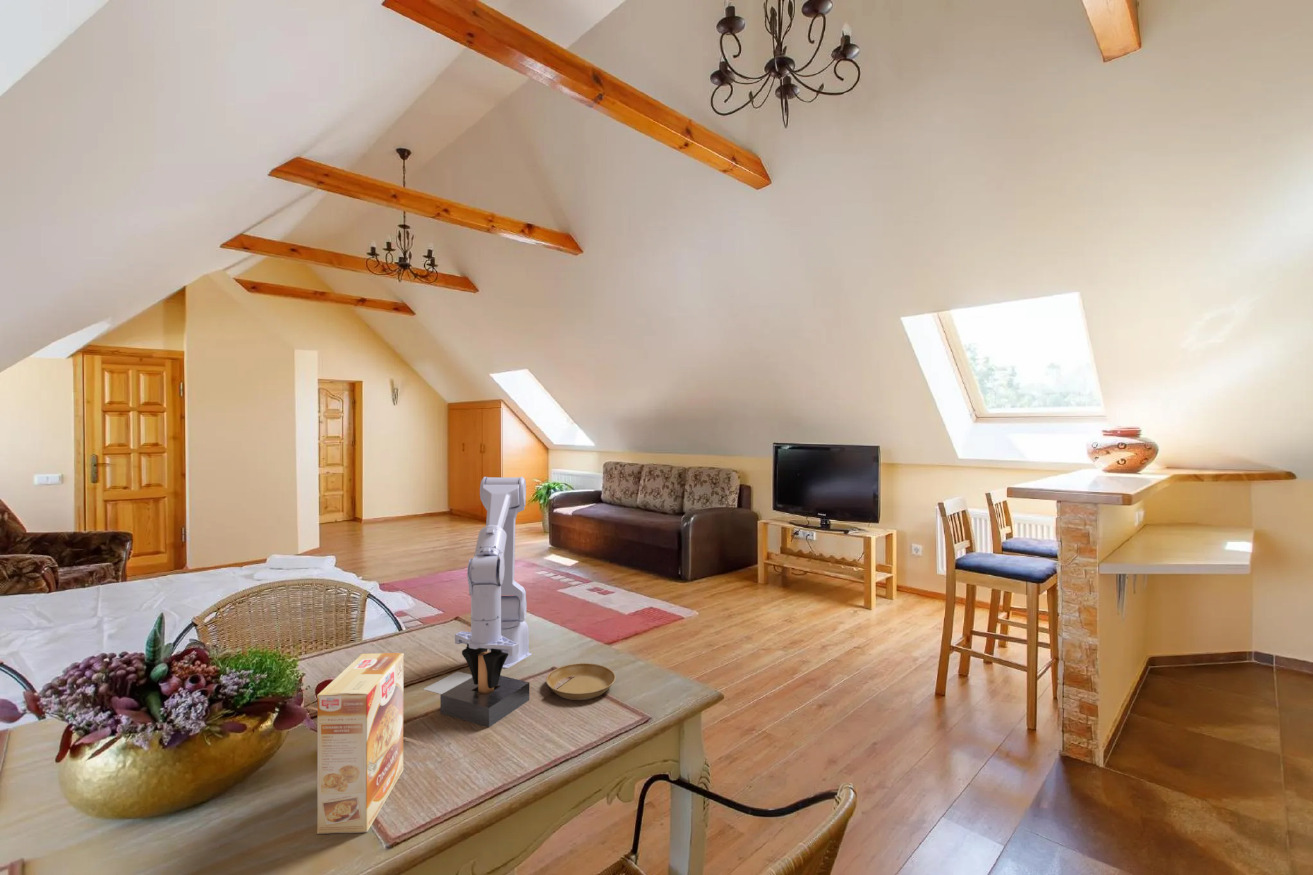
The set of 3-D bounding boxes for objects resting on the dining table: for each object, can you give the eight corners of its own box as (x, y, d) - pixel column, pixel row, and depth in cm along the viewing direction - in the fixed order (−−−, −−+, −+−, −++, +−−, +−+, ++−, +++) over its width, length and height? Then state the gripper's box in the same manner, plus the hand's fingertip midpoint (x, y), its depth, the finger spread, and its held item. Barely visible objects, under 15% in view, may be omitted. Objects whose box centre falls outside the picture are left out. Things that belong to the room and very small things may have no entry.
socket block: (483, 689, 125) (483, 671, 125) (529, 701, 120) (529, 682, 120) (440, 715, 114) (440, 694, 114) (489, 729, 109) (489, 707, 109)
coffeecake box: (368, 833, 81) (367, 693, 81) (314, 835, 81) (313, 695, 80) (405, 769, 96) (405, 651, 96) (360, 771, 96) (360, 652, 95)
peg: (484, 694, 119) (484, 650, 119) (496, 697, 118) (497, 652, 117) (474, 701, 116) (474, 656, 116) (487, 704, 115) (487, 658, 115)
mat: (457, 672, 133) (457, 671, 133) (492, 681, 129) (492, 679, 129) (423, 690, 124) (423, 689, 124) (459, 700, 120) (459, 698, 120)
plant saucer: (627, 682, 130) (627, 670, 130) (592, 711, 116) (592, 698, 116) (570, 669, 136) (571, 658, 136) (531, 696, 123) (531, 684, 123)
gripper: (443, 616, 116) (443, 685, 116) (501, 628, 110) (501, 700, 110) (468, 606, 122) (468, 671, 123) (525, 617, 116) (525, 685, 116)
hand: (486, 684), depth 117 cm, fingers open, 3 cm apart
